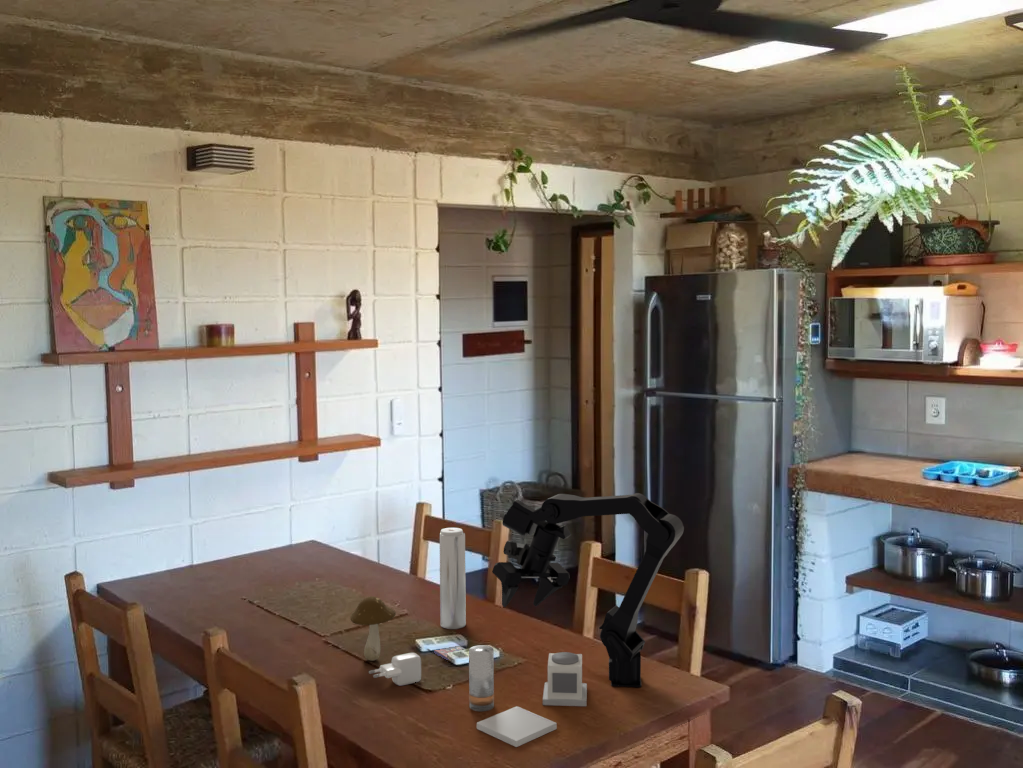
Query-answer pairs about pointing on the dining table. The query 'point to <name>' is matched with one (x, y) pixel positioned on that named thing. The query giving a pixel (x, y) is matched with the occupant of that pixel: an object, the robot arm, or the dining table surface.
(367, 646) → the mushroom
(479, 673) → the cartridge
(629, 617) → the robot arm
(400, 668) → the power adapter
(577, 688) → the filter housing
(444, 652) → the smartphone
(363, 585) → the dining table surface
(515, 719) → the grey flat square slab
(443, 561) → the white tall cylinder
